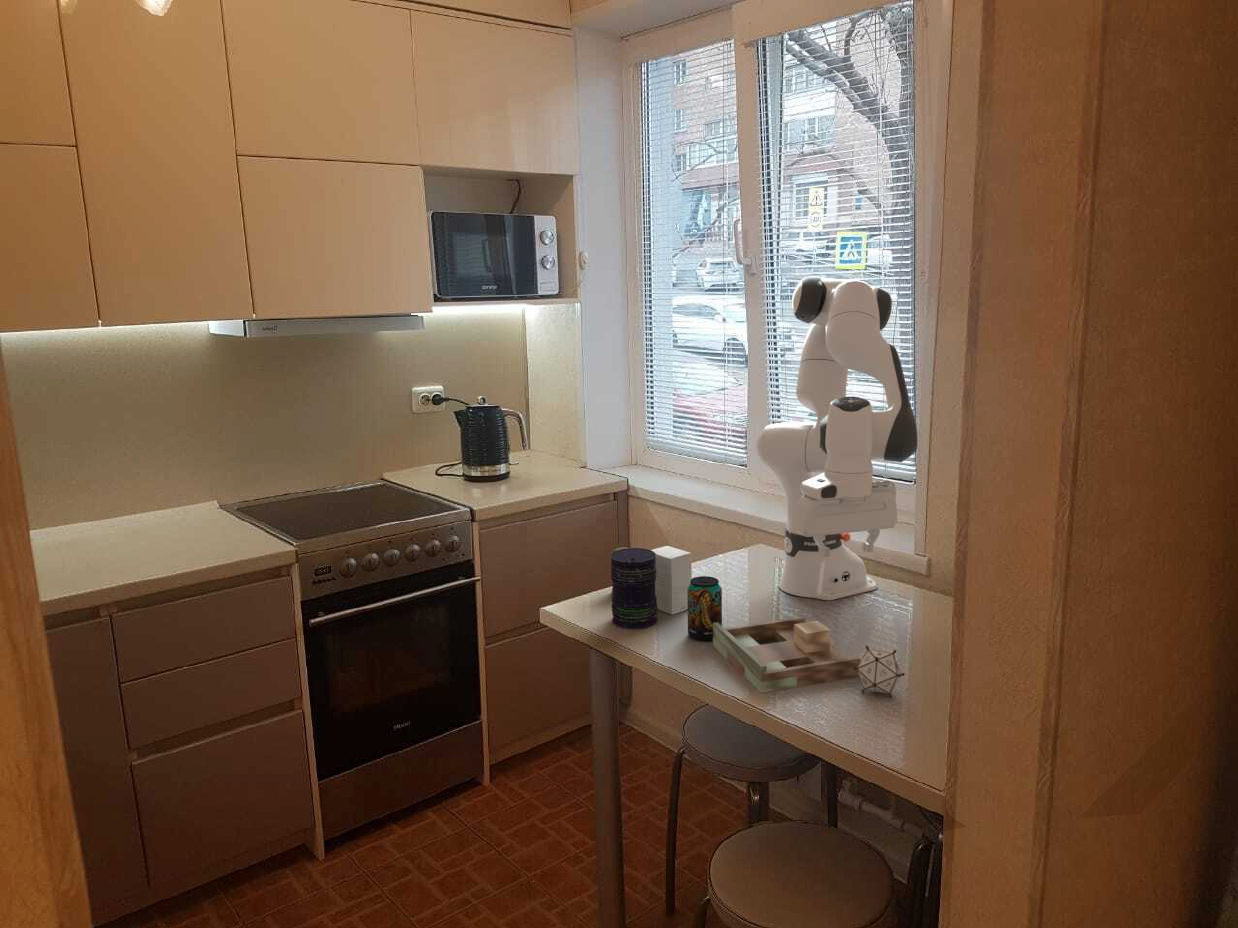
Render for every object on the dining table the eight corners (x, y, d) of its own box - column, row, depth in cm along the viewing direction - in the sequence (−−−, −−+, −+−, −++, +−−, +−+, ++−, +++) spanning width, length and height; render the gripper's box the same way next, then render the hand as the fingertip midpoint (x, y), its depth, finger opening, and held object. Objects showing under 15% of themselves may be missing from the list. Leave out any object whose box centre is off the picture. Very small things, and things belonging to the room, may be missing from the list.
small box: (692, 608, 205) (692, 552, 203) (671, 615, 201) (671, 558, 199) (668, 599, 211) (667, 544, 209) (647, 605, 208) (646, 550, 205)
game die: (866, 709, 165) (841, 656, 168) (909, 690, 165) (884, 638, 168) (872, 706, 156) (846, 651, 160) (919, 687, 156) (891, 632, 160)
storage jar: (612, 612, 204) (611, 548, 201) (657, 612, 204) (656, 547, 200) (611, 629, 194) (609, 562, 191) (657, 629, 194) (656, 561, 191)
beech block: (816, 639, 181) (817, 620, 181) (829, 649, 177) (829, 629, 176) (793, 643, 180) (794, 624, 179) (806, 653, 175) (806, 633, 174)
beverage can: (692, 643, 186) (691, 587, 183) (684, 630, 193) (683, 576, 190) (725, 640, 187) (725, 584, 184) (717, 628, 194) (716, 573, 191)
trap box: (802, 632, 190) (802, 609, 189) (859, 675, 170) (860, 650, 169) (713, 646, 185) (712, 622, 184) (761, 692, 164) (761, 666, 163)
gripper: (887, 476, 180) (884, 544, 183) (792, 484, 174) (791, 554, 177) (905, 482, 174) (902, 553, 177) (808, 491, 168) (806, 564, 171)
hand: (846, 554), depth 177 cm, fingers open, 8 cm apart
